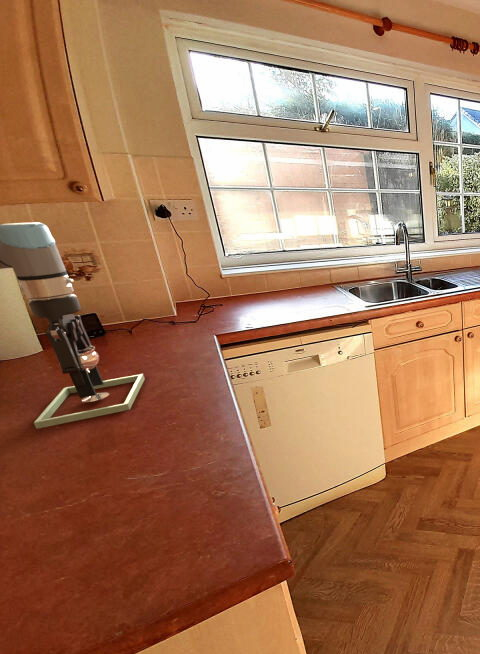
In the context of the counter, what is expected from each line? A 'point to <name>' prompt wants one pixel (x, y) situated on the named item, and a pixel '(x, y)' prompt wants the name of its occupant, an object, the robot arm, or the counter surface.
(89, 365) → the wineglass
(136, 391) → the green rectangular frame
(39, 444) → the counter surface
